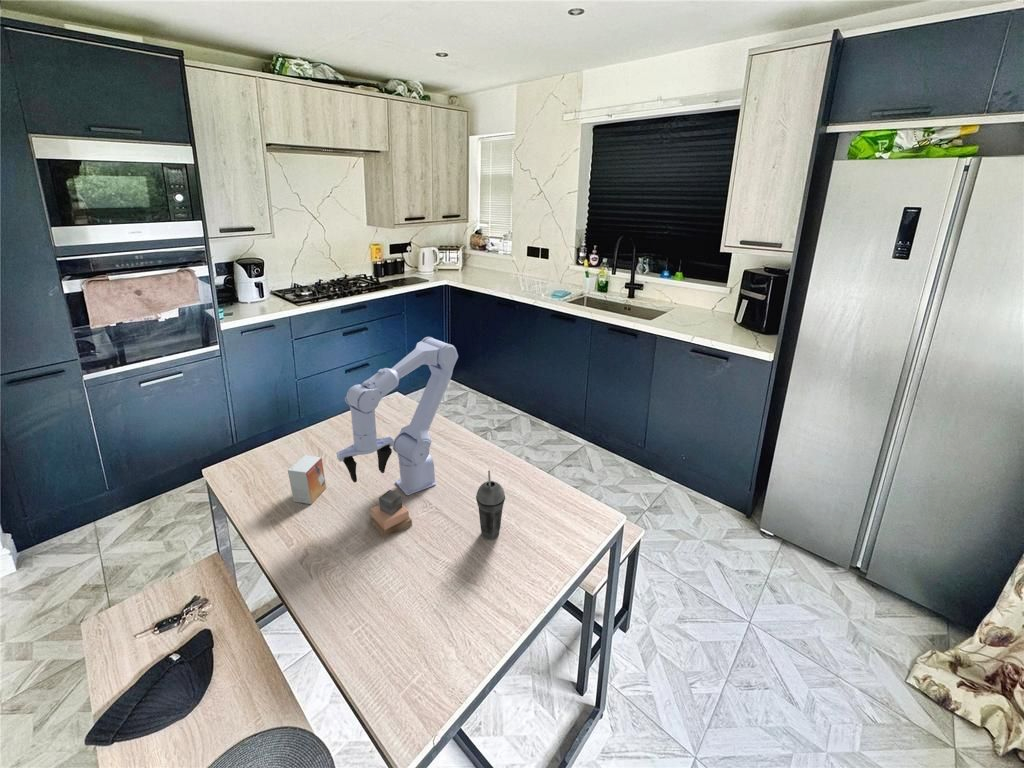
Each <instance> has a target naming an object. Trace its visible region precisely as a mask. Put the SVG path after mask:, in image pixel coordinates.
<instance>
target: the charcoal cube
mask: <svg viewBox="0 0 1024 768" xmlns="http://www.w3.org/2000/svg"><path fill="white" fill-rule="evenodd" d="M402 498H403V497H402V494H401V493H398V492H396V491H394V490H392V489H388V490H386V491H385V493H383V494H382V495H380V496H379V497H378V505H380V510H381V511H383V512H385V513H387V514H389V515H391V516H392V515H393V514H395V513H396V512H397V511H398V510H400V509H401V508H402V505H403V499H402Z"/></svg>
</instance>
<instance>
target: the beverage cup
mask: <svg viewBox="0 0 1024 768" xmlns="http://www.w3.org/2000/svg"><path fill="white" fill-rule="evenodd" d="M487 475H488V481H485V482H483V483H481V484H480V486H479V487H478V489H477V491H476V495H475V500H476V504H477V507H478V515H479V523H480V524H479V525H480V532H481V536H482V537H483V539H486V540H489V541H490V540H495V539H497V538H498V537H499V536H500V530H501V523H502V516H503V515H502V514H503V507H504V504H505V501H506V494H505V490H504V488H503V486H502V485H501V484H500V483H498V481H497V482H496V481H494V480H491V470H488V471H487Z"/></svg>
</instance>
